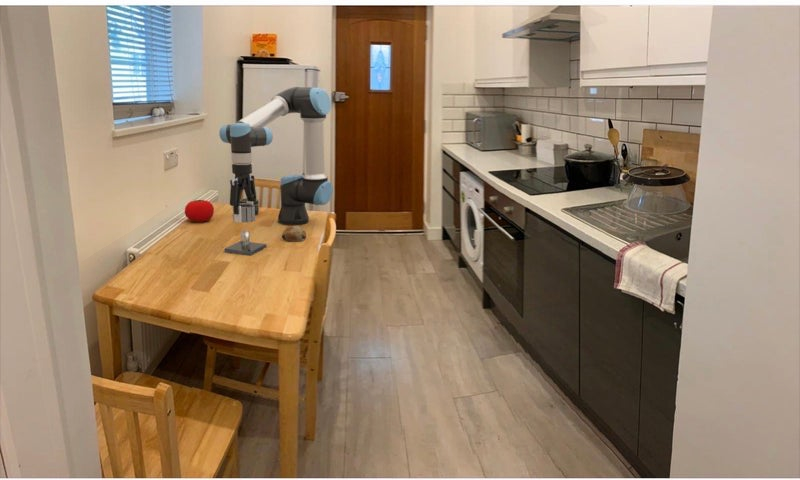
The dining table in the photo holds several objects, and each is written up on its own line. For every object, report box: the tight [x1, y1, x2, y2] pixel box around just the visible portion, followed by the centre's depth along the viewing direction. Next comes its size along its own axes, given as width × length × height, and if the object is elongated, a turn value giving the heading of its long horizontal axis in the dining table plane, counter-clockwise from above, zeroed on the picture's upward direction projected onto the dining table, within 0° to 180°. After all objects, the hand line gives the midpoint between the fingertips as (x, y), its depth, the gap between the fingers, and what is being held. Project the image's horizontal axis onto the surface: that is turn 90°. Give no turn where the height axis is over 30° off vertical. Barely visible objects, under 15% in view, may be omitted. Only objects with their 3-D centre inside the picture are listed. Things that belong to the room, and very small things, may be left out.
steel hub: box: [232, 203, 256, 223], centre depth 219 cm, size 8×8×6 cm
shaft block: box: [223, 229, 267, 256], centre depth 222 cm, size 12×12×8 cm
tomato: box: [184, 199, 215, 223], centre depth 265 cm, size 14×13×10 cm
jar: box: [240, 197, 260, 216], centre depth 281 cm, size 10×10×8 cm
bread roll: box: [281, 225, 307, 243], centre depth 240 cm, size 10×10×8 cm
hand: (244, 219), depth 219 cm, fingers closed on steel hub, 8 cm apart
